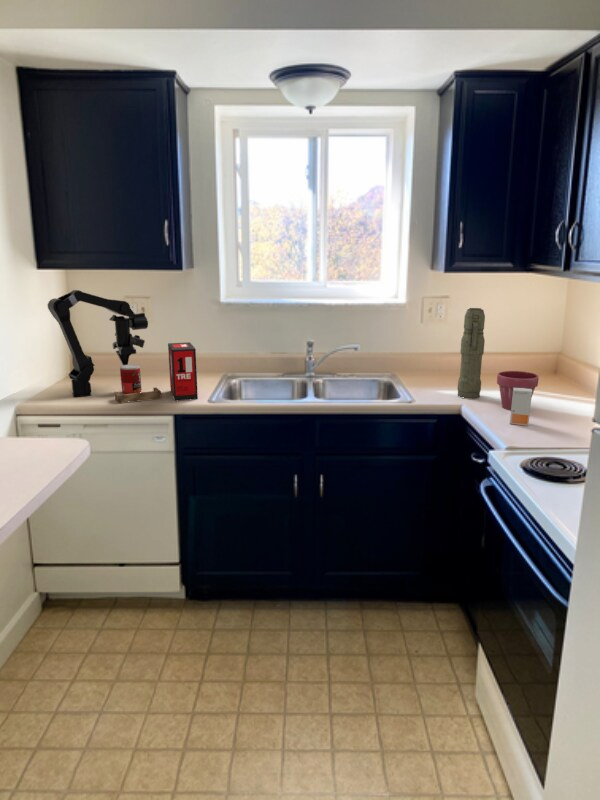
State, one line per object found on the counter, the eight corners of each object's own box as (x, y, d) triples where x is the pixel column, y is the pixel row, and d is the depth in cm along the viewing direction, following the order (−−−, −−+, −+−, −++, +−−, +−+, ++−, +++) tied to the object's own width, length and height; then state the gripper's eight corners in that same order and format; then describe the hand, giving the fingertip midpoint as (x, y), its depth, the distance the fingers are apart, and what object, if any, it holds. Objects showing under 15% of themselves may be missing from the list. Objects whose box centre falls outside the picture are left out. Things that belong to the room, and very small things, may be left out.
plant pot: (486, 406, 217) (489, 373, 214) (509, 401, 225) (512, 368, 222) (520, 415, 206) (523, 380, 203) (543, 409, 214) (546, 375, 210)
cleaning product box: (197, 399, 228) (195, 348, 222) (174, 400, 225) (172, 350, 220) (192, 389, 243) (190, 342, 238) (170, 391, 240) (168, 343, 235)
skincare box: (509, 424, 195) (512, 389, 192) (509, 420, 199) (513, 387, 196) (528, 426, 193) (532, 391, 190) (528, 422, 197) (532, 388, 194)
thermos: (460, 399, 227) (467, 310, 218) (454, 392, 238) (460, 307, 229) (483, 400, 226) (491, 310, 217) (476, 392, 238) (483, 307, 229)
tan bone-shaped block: (118, 403, 221) (117, 395, 220) (115, 399, 227) (114, 391, 226) (161, 398, 228) (160, 391, 227) (156, 394, 234) (156, 387, 233)
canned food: (136, 395, 233) (134, 368, 230) (118, 394, 235) (116, 367, 232) (145, 390, 240) (143, 364, 238) (127, 389, 242) (125, 364, 239)
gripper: (147, 332, 235) (150, 370, 239) (137, 327, 251) (139, 362, 255) (119, 334, 230) (122, 372, 234) (111, 328, 246) (113, 364, 250)
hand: (125, 367), depth 244 cm, fingers closed
